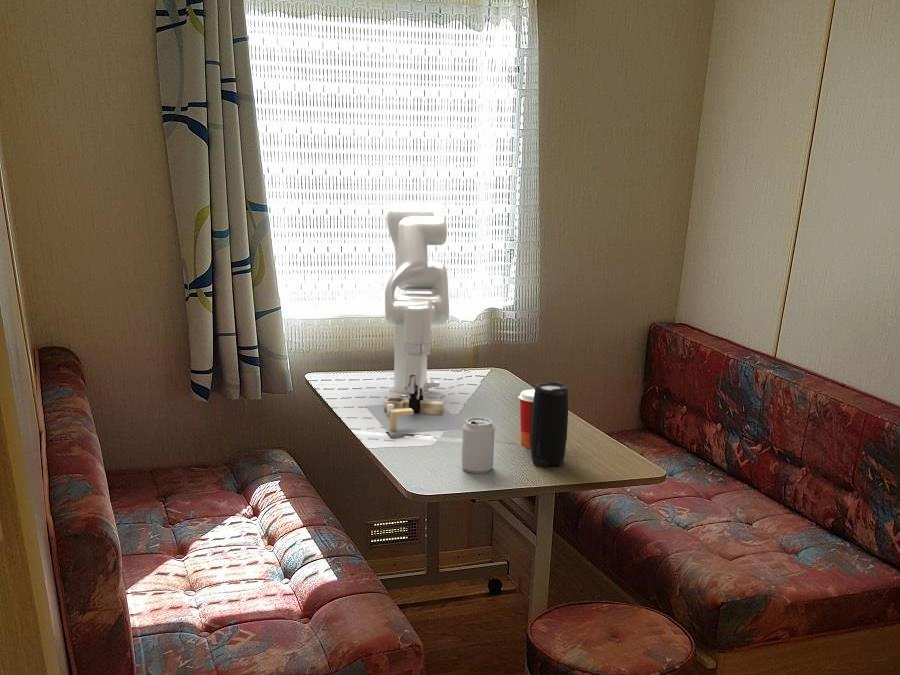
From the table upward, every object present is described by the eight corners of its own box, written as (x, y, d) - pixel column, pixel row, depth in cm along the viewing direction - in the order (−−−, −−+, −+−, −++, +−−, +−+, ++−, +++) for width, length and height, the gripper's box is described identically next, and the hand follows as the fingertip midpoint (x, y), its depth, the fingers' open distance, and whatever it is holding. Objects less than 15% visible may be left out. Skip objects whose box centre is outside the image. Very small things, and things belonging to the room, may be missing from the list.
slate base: (436, 403, 245) (436, 383, 244) (469, 431, 220) (469, 409, 219) (365, 409, 237) (365, 388, 236) (390, 438, 213) (391, 415, 211)
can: (460, 463, 196) (461, 415, 193) (490, 463, 197) (492, 415, 194) (463, 474, 189) (464, 425, 186) (495, 474, 189) (497, 425, 187)
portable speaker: (550, 454, 204) (554, 378, 200) (573, 466, 196) (578, 388, 192) (521, 459, 200) (525, 382, 196) (543, 471, 192) (548, 391, 188)
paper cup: (549, 442, 213) (552, 390, 210) (543, 451, 206) (545, 398, 203) (520, 438, 215) (522, 387, 212) (513, 447, 208) (515, 394, 205)
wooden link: (384, 411, 232) (384, 401, 232) (388, 406, 238) (388, 396, 237) (441, 416, 230) (441, 405, 229) (444, 410, 235) (445, 400, 234)
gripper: (410, 341, 238) (409, 401, 242) (397, 353, 222) (396, 417, 226) (435, 343, 237) (434, 403, 241) (424, 355, 221) (422, 419, 225)
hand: (415, 409), depth 233 cm, fingers open, 3 cm apart
